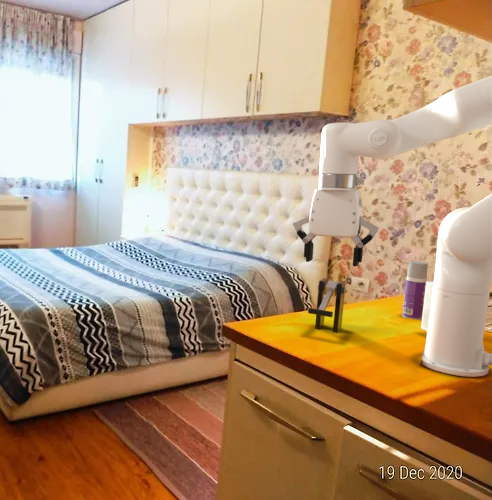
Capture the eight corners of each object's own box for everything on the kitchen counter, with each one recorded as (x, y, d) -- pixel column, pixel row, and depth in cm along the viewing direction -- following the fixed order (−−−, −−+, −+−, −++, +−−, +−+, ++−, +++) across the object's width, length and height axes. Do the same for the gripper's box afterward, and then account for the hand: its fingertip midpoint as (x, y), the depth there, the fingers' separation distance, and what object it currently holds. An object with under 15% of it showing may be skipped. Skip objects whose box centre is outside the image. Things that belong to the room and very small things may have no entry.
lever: (331, 320, 110) (331, 311, 109) (308, 316, 112) (307, 307, 111) (344, 291, 118) (344, 282, 117) (322, 288, 121) (322, 279, 120)
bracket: (340, 343, 114) (346, 287, 112) (304, 336, 118) (309, 282, 116) (349, 332, 122) (355, 279, 120) (315, 326, 126) (320, 275, 124)
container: (424, 320, 134) (431, 264, 132) (405, 319, 135) (411, 263, 133) (418, 315, 139) (425, 261, 136) (400, 314, 140) (406, 260, 137)
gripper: (384, 183, 106) (378, 265, 109) (300, 182, 115) (296, 257, 118) (379, 184, 100) (372, 270, 102) (291, 182, 109) (286, 261, 112)
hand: (331, 263), depth 110 cm, fingers open, 9 cm apart
